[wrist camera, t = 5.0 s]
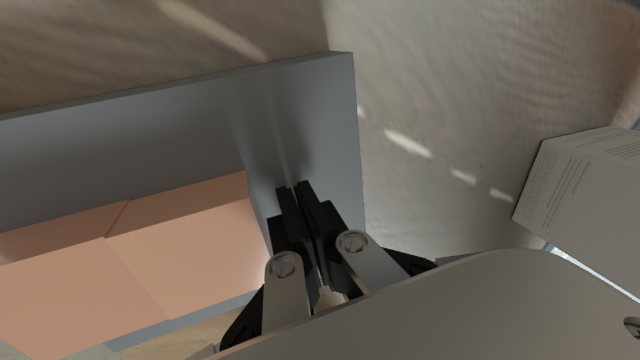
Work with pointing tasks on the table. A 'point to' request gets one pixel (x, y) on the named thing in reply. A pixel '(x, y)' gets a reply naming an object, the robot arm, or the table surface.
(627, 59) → the table surface
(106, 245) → the tile
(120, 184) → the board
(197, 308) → the tile
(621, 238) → the supplement box
